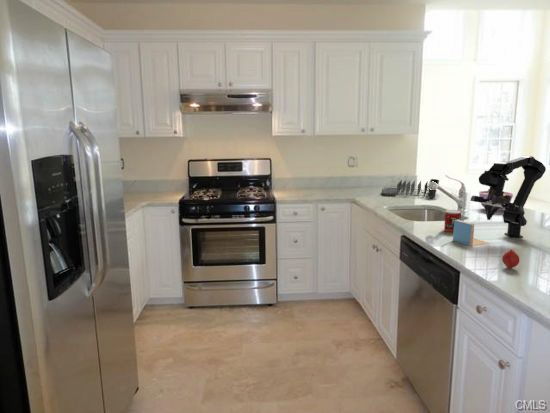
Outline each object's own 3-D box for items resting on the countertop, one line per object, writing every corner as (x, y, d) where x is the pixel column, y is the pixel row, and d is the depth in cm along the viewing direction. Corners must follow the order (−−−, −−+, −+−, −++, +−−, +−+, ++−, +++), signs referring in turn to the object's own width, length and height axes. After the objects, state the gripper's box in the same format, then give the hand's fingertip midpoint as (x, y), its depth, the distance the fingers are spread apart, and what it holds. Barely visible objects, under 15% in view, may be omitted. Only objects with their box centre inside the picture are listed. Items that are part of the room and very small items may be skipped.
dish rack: (436, 199, 303) (437, 184, 301) (378, 196, 321) (379, 182, 319) (438, 193, 333) (439, 179, 331) (385, 190, 351) (386, 177, 349)
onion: (499, 265, 156) (501, 246, 155) (515, 266, 155) (518, 247, 153) (503, 270, 151) (505, 250, 149) (520, 271, 149) (522, 251, 148)
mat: (470, 237, 196) (470, 236, 196) (490, 244, 185) (490, 243, 185) (451, 240, 192) (451, 239, 192) (470, 246, 181) (470, 246, 181)
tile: (456, 239, 192) (457, 219, 190) (472, 245, 183) (474, 224, 181) (452, 240, 191) (454, 220, 189) (469, 245, 182) (471, 224, 180)
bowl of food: (474, 206, 273) (475, 190, 271) (506, 207, 267) (508, 191, 265) (481, 212, 254) (482, 195, 252) (515, 213, 249) (517, 195, 246)
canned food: (444, 232, 207) (445, 212, 205) (443, 229, 214) (445, 209, 212) (460, 233, 204) (461, 213, 202) (459, 230, 211) (460, 210, 209)
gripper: (482, 184, 180) (474, 217, 182) (525, 192, 178) (516, 225, 179) (474, 184, 191) (466, 215, 193) (514, 192, 189) (505, 223, 190)
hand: (488, 219), depth 188 cm, fingers closed
